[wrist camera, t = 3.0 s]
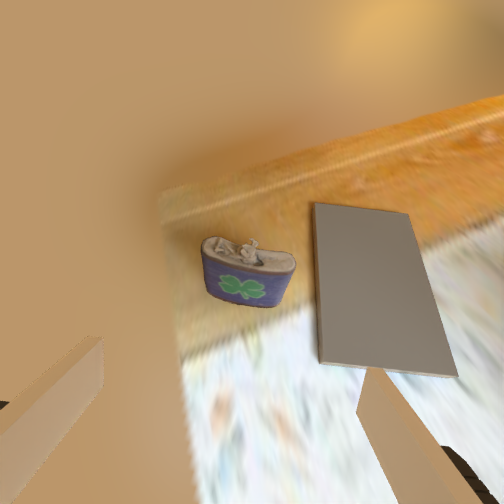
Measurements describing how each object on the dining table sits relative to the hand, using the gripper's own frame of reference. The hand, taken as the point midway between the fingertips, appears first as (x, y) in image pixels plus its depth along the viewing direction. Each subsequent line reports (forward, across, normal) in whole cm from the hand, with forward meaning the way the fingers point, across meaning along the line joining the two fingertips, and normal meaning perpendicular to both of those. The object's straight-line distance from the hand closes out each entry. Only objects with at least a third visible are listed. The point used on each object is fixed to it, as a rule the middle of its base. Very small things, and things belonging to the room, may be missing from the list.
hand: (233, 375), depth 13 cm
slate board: (+21, +16, 0) cm, 26 cm away
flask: (+18, 0, -3) cm, 18 cm away
